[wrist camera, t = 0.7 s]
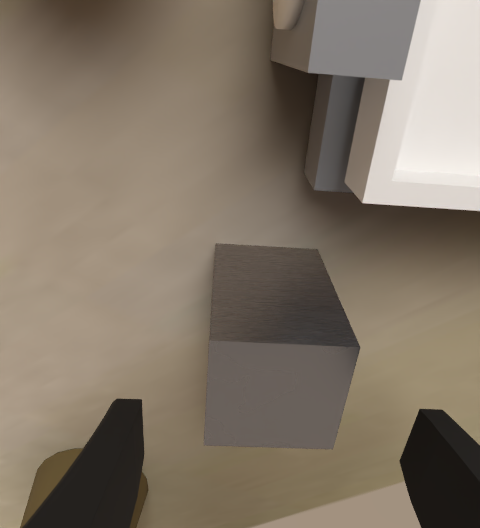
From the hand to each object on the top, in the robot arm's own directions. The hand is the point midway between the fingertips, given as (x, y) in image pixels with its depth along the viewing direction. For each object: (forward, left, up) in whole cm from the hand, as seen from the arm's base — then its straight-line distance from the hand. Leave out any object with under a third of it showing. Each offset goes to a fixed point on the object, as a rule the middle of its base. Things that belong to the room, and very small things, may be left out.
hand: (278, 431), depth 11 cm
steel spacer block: (0, 0, -7) cm, 7 cm away
